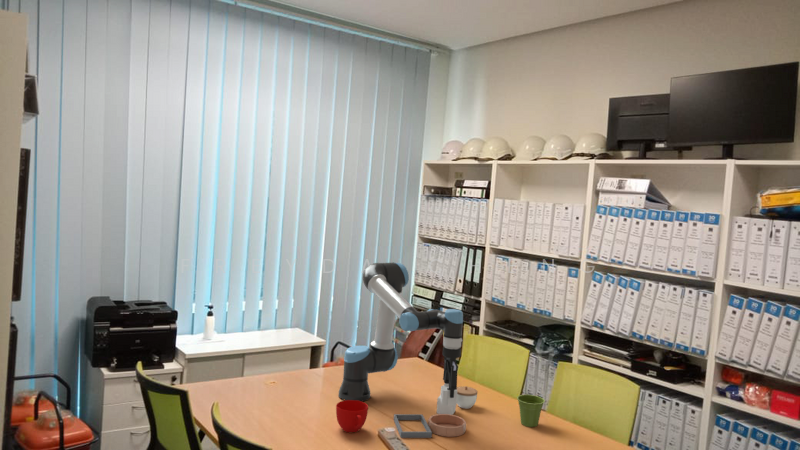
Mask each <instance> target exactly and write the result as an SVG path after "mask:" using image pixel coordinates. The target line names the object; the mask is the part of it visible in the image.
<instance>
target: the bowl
mask: <svg viewBox="0 0 800 450" xmlns="http://www.w3.org/2000/svg"><path fill="white" fill-rule="evenodd" d="M427 424H428V426H429V428H430V430H431V432H432V434H435V435H437V436H441V437H449V438H452V437H453V438H454V437H460V436H463V435H464V434H465V432H466V429H467V422H466V420H465V419H464V418H463V417H460V416H458V415H455V414H453V415H450V414H438V413H436V414H433V415H431V416H429V418H428V419H427Z"/></svg>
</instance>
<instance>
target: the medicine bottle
mask: <svg viewBox="0 0 800 450" xmlns="http://www.w3.org/2000/svg"><path fill="white" fill-rule="evenodd" d="M442 386H444V384H443V385H442ZM440 399H441V394H440V395H439V396H438V397H437V399H436V400H437V402H436V414H450V415H455V412H456V410H457V409H456V407H457V406H454V405H442V403H441V400H440Z"/></svg>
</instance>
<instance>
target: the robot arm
mask: <svg viewBox="0 0 800 450" xmlns="http://www.w3.org/2000/svg"><path fill="white" fill-rule="evenodd" d="M409 281H410V280H409V271H408V269H407V267H406V266H405V265H404V264H403V263H401V262H374V263H371V264H369V265H368V266H366V268H365V269H364V270H363V274H362V283H363V284H364V285H363V286H364V287H365V288H366V289H367V290H368V291H369V293H372V294H375V295H376V296H377V297H378V298H379V302H378V310H377V316H376V317H377V318H376V325H375V331H374V332H375V334H374V340H372V341H371V342H370V346H367V345H353V346H350V347H348V348H347V349H346V350H345V351H344V356H343V357H344V358H343V374H342V375H343V376H342V383H341V385H340V387H339V390H338V398H339V397H340V398H339V399H341V398H342V399H341V400H343V399H345V400H356V401H361V402H365V400H366V401H368V400H370V399H369V398H371V389H370V385H369V381H368V379H369V378H368V377H369V374H374V373H382V372H383V373H384V372H387V371H391V370H393V369H394V368H395V367H396V365H397V364H398V356H399V355H398V352H397V349H396V348H395V345H394V343H393V342H392V341H393V334H394V327H395V320H396V317H398V318H399V321H398V322H399V325H400V328H401V329H402V330H403V331H405V332H414V331H422V330H434V329H436V330H437V329H439V330H441V331H443V339H442V346H443V347H442V357H444V362H443V363H444V364H443V374H442V375H443V376H442V377H443V378H442V380H443V383H444V384H443V385H444V386H449V388H447V390H448V399H447V405H454V397H455V390H457V387H458V369H459V365H457V364H458V363H457V360H456V359H459V358H460V357H461V356H462V354H461V353H462V348H461V347H462V342H463V341H464V340H463V338H462V337H463V325H464V324H463V323H464V312H463V311H462V310H461V309H456V308H447V309H446V310H445V311H444V310H443V311H442V310H439V309H436V308H435V309H434V308H429V309H427V310H426V311H425V310H423V311H418V310H417V309H416V308H415V307H414V306H412V305H411V304H410V303H409V302H408V301H407V299H405V298H404V297H403V296H402V295H401V294H402V292H403V288H404V287H407V285H408V284H409ZM345 400H344V401H345Z"/></svg>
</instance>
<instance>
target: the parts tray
mask: <svg viewBox="0 0 800 450" xmlns="http://www.w3.org/2000/svg"><path fill="white" fill-rule="evenodd" d="M400 421H420V422H421V424H422V426H423V427H424V429H425V430H424V431H403V429H402V427H401V426H402V425H401V424H400ZM393 422H394V424H395V427H396V430H397V432H398V434H399V437H401V439H403V438H405V439H407V438H408V439H410V438H411V439H414V438H419V439H420V438H424V439H425V438H427V439H428V438H429V439H431V438H432V436H433V435H432V434H433V433H432V432H431V430H430V428H429V426H428V421H427V420H426V418H425V416H424V415H423V414H421V413H420V414H416V413H415V414H407V413H406V414H404V413H403V414H402V413H401V414H400V413H399V414H398V413H394V414H393Z"/></svg>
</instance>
